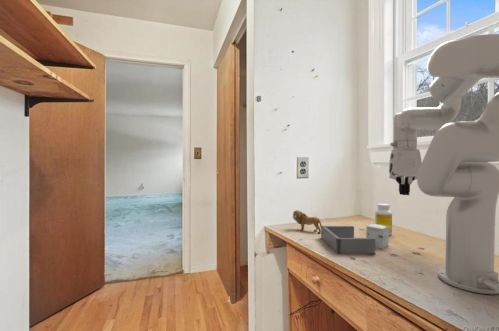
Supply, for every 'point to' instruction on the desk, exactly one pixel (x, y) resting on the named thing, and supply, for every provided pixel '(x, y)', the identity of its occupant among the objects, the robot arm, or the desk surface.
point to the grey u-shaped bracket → (346, 240)
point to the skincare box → (378, 234)
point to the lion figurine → (306, 220)
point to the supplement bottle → (384, 216)
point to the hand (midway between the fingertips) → (404, 194)
